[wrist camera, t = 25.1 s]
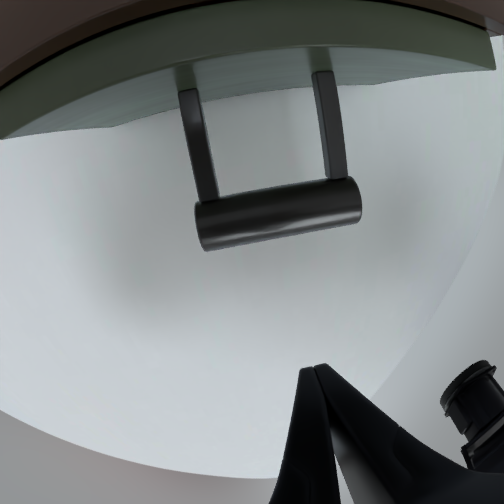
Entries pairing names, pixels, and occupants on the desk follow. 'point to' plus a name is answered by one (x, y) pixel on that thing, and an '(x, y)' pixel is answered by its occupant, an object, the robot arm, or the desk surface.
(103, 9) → the cabinet
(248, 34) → the drawer
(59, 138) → the desk surface
